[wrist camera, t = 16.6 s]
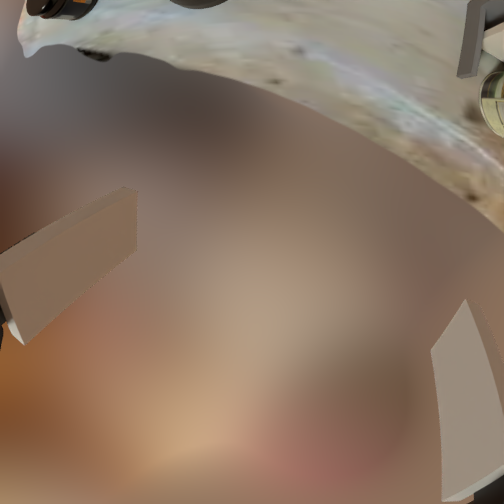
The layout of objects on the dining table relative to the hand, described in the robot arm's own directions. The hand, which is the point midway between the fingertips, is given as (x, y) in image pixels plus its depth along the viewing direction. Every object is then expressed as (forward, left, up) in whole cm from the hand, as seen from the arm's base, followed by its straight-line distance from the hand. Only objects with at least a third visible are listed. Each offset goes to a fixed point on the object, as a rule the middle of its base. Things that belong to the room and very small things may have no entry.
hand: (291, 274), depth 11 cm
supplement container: (-23, -53, -35) cm, 68 cm away
